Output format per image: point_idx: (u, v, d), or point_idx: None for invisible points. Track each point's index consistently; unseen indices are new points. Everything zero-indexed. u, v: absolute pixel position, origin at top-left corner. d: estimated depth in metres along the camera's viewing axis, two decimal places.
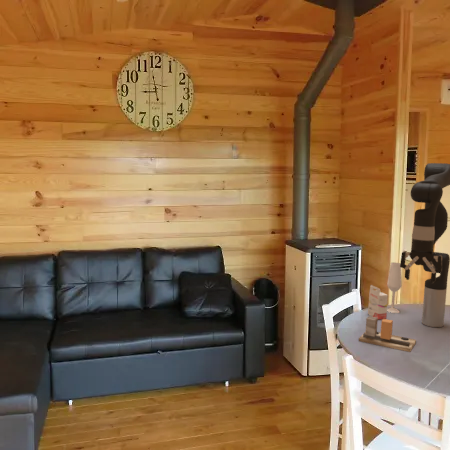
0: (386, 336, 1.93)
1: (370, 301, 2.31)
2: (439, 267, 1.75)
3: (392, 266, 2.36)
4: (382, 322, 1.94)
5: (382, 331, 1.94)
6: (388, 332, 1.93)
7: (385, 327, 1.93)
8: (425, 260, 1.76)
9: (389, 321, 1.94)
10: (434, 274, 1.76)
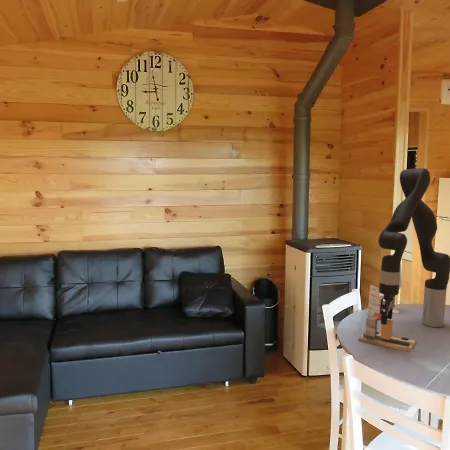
0: (386, 336, 1.93)
1: (370, 301, 2.31)
2: (394, 303, 1.99)
3: None
4: None
5: (382, 331, 1.94)
6: (388, 332, 1.93)
7: (385, 327, 1.93)
8: (393, 301, 1.94)
9: (389, 321, 1.94)
10: None
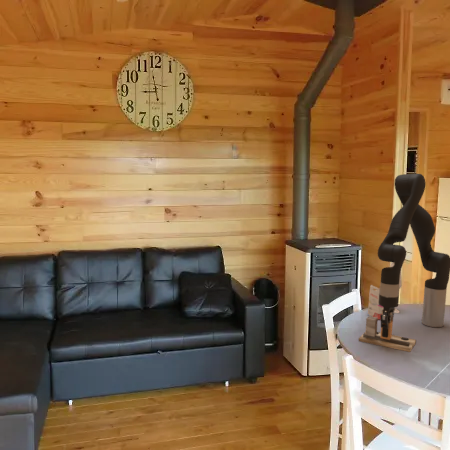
0: None
1: (370, 301, 2.31)
2: None
3: (392, 266, 2.36)
4: None
5: None
6: (388, 332, 1.93)
7: None
8: (393, 313, 1.94)
9: None
10: None
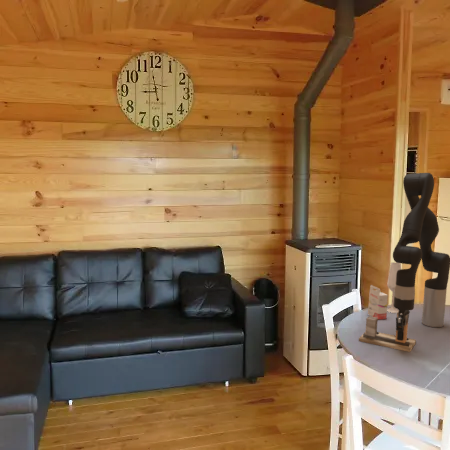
0: None
1: (370, 301, 2.31)
2: None
3: (392, 266, 2.36)
4: None
5: None
6: None
7: None
8: (408, 316, 1.91)
9: None
10: None
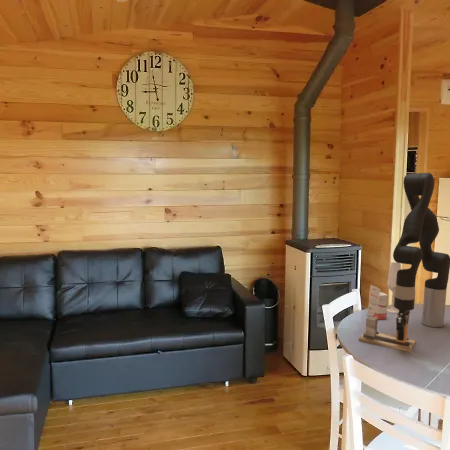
0: None
1: (370, 301, 2.31)
2: None
3: (392, 266, 2.36)
4: None
5: (397, 334, 1.91)
6: (404, 335, 1.90)
7: None
8: (408, 316, 1.91)
9: None
10: None
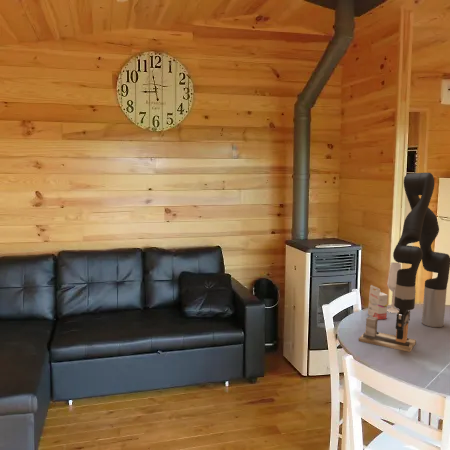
0: None
1: (370, 301, 2.31)
2: (409, 316, 1.96)
3: (392, 266, 2.36)
4: None
5: None
6: (404, 335, 1.90)
7: None
8: (409, 315, 1.91)
9: None
10: None
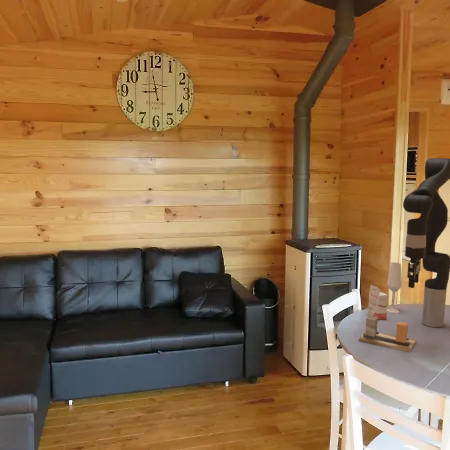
0: (401, 339, 1.90)
1: (370, 301, 2.31)
2: (420, 266, 1.99)
3: (392, 266, 2.36)
4: (397, 325, 1.91)
5: (397, 334, 1.91)
6: (404, 335, 1.90)
7: (400, 330, 1.90)
8: (420, 264, 1.94)
9: (404, 324, 1.91)
10: None
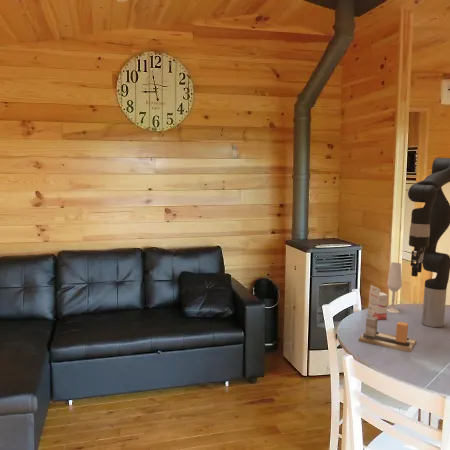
0: (401, 339, 1.90)
1: (370, 301, 2.31)
2: None
3: (392, 266, 2.36)
4: (397, 325, 1.91)
5: (397, 334, 1.91)
6: (404, 335, 1.90)
7: (400, 330, 1.90)
8: (423, 253, 1.96)
9: (404, 324, 1.91)
10: (421, 264, 2.00)
